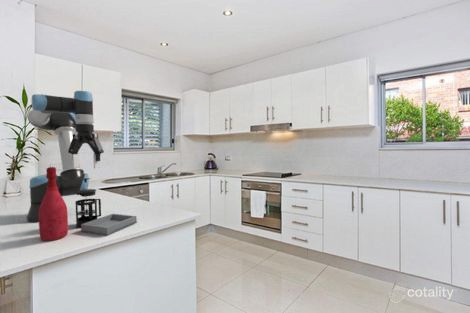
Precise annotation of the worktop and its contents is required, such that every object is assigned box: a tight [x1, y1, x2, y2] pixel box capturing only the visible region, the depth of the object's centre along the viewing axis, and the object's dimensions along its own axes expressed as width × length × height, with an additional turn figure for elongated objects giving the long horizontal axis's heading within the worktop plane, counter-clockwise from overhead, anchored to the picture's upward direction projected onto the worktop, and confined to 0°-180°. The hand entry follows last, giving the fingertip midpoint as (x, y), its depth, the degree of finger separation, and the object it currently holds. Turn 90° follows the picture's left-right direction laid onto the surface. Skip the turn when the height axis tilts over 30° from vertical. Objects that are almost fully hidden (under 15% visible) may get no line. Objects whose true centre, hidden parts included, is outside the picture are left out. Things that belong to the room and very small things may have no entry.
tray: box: [80, 213, 138, 237], centre depth 117 cm, size 15×18×4 cm
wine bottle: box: [38, 166, 69, 242], centre depth 104 cm, size 10×10×30 cm
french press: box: [74, 177, 102, 229], centre depth 121 cm, size 12×9×23 cm
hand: (86, 167), depth 120 cm, fingers open, 13 cm apart
